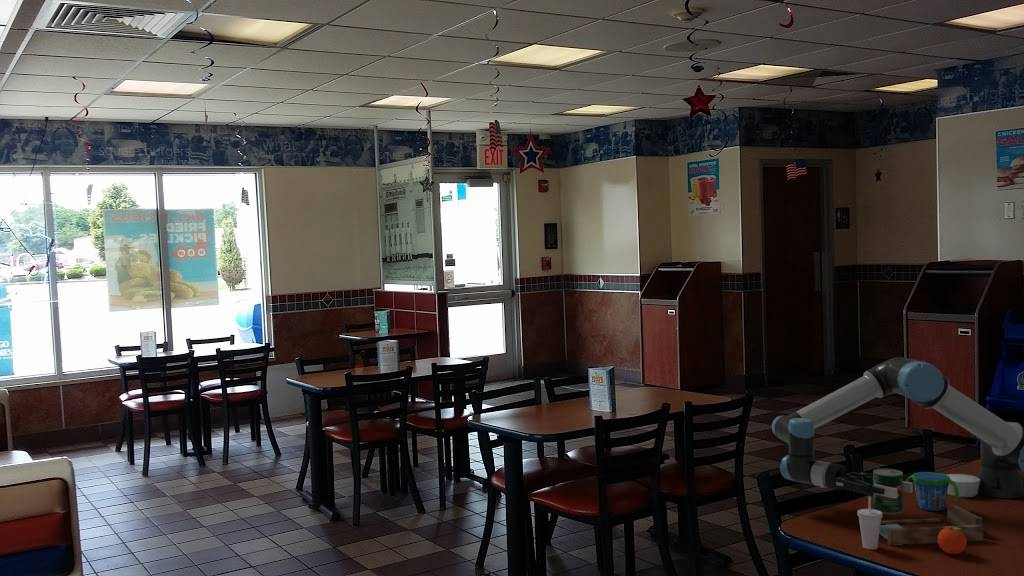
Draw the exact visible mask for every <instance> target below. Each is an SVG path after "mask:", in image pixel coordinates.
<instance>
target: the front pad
mask: <svg viewBox="0 0 1024 576" xmlns="http://www.w3.org/2000/svg"><path fill="white" fill-rule="evenodd" d="M902 528H904V527H903V526H900V524H886V525H880V532H879V534H880V535H879V536H880V537H882V536H883V537H882V538H884V539H885V540H887V541H888V529H902Z"/></svg>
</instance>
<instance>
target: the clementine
mask: <svg viewBox="0 0 1024 576" xmlns="http://www.w3.org/2000/svg"><path fill="white" fill-rule="evenodd" d="M959 529H960V528H953V527H947V528H945V529H943V530H941V531H940V533H939V535H938V543H937V544H938V546H939V548H940V549H941V550H942V551H943V552H944V553H947V554H948V555H959V554H961V553H962V552H963V551H964V550H965V549H966V547H967V542H968V541H966V537H965V535H964V534H963V533H962V532H961V531H960V530H962V529H960V530H959ZM965 532H966V531H965ZM966 533H967V532H966ZM967 534H968V533H967Z"/></svg>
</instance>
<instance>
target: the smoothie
mask: <svg viewBox="0 0 1024 576" xmlns="http://www.w3.org/2000/svg"><path fill="white" fill-rule="evenodd" d="M871 501H872V497H870V496H868V508H861V509H858V510H857V516H858V523H859V522H860V525H859V528H860V535H861V541H862V542H861V543H862V548H864V549H865V550H866V549H867V550H877V549H878V547H879V539H880V535H879V532H880V524H881V521H882V518H883V517H884V516H883V513H882V512H881V511H878V510H874V509H873V508H872V507H871V506H872V502H871Z"/></svg>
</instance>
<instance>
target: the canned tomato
mask: <svg viewBox="0 0 1024 576" xmlns="http://www.w3.org/2000/svg"><path fill="white" fill-rule="evenodd" d="M872 474H873V487H874V484H877V485H882V486H887V487H892V488H897V499H895V498H890V497H886V496H881V495H876V494H874V493H873V496H872V509H874V510H878V511H881V512H882V514H884V515H898V514H902V513H903V512H904V511H903V507H904V504H903V502H904V501H903V497H904V496H903V494H904V493H903V492H904V491H903V481H904V478H903V477H904V472H903V471H902V470H898V469H893V468H876V469H873V470H872Z"/></svg>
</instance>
